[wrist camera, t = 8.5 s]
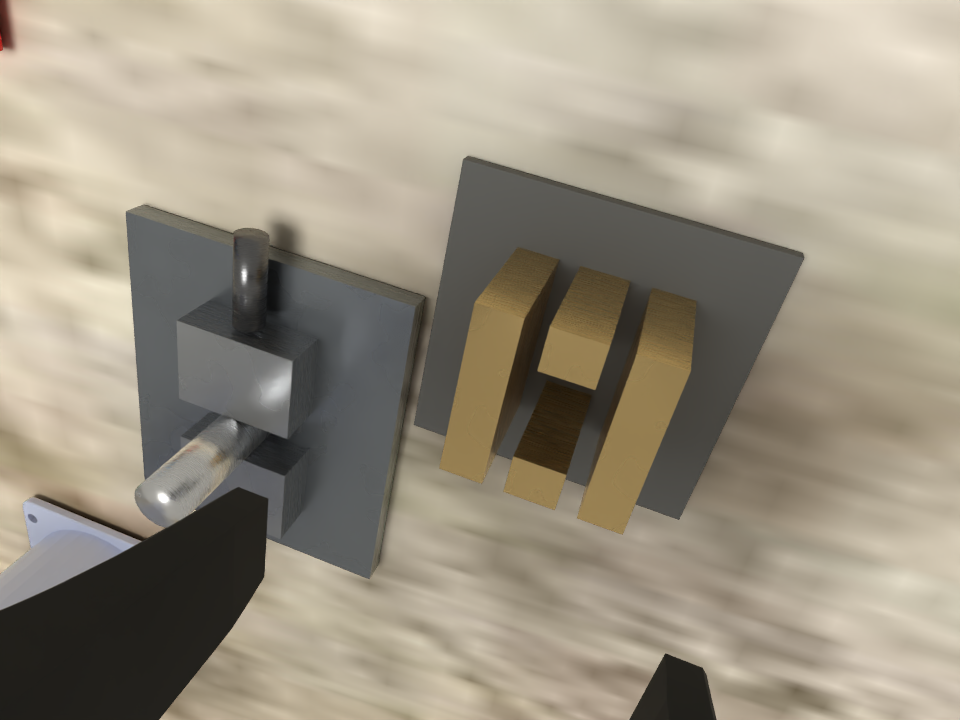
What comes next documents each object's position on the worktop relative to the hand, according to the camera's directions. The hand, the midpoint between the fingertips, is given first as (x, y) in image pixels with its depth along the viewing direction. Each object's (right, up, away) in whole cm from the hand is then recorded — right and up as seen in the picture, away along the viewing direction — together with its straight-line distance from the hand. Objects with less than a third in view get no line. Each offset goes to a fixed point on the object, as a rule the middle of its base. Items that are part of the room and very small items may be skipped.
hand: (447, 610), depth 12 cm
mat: (+4, +5, +9) cm, 10 cm away
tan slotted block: (+3, +5, +8) cm, 10 cm away
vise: (-7, +3, +13) cm, 15 cm away
